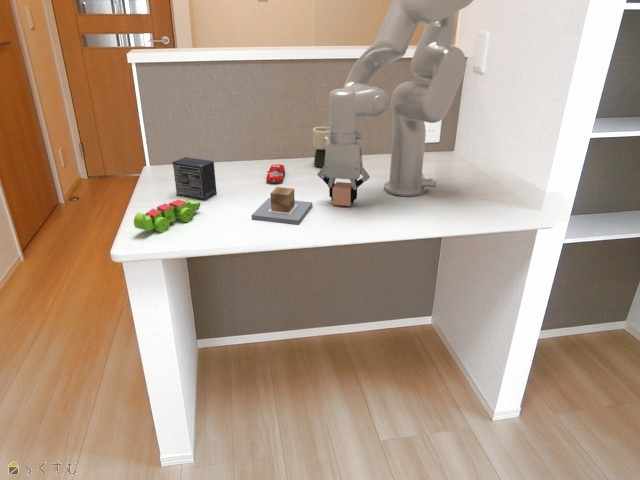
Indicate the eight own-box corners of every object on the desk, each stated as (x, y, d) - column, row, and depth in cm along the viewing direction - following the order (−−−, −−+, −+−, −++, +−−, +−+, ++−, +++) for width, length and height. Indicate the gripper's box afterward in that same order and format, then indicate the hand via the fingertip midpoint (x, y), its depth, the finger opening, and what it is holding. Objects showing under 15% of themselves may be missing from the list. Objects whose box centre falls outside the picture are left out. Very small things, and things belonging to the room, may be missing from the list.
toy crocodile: (190, 209, 138) (188, 188, 136) (207, 215, 135) (204, 193, 132) (128, 233, 124) (124, 211, 121) (145, 240, 120) (141, 217, 118)
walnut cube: (294, 205, 137) (294, 188, 135) (288, 212, 132) (288, 195, 130) (277, 204, 138) (276, 187, 136) (271, 210, 134) (270, 193, 131)
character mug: (337, 170, 169) (337, 132, 163) (316, 171, 168) (316, 133, 162) (329, 160, 179) (329, 124, 173) (309, 162, 177) (309, 125, 171)
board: (312, 206, 140) (312, 201, 139) (298, 224, 129) (298, 220, 128) (268, 201, 143) (268, 197, 142) (251, 219, 132) (251, 214, 131)
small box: (218, 194, 148) (215, 160, 144) (205, 201, 143) (201, 166, 139) (189, 189, 152) (185, 155, 148) (175, 195, 147) (171, 161, 143)
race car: (282, 186, 156) (281, 174, 154) (265, 185, 156) (264, 173, 154) (287, 172, 168) (286, 161, 166) (271, 172, 168) (270, 160, 166)
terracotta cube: (353, 199, 143) (353, 183, 141) (350, 206, 139) (350, 189, 136) (336, 198, 144) (336, 181, 142) (332, 204, 140) (332, 187, 137)
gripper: (377, 135, 134) (375, 197, 142) (316, 132, 138) (317, 193, 146) (372, 142, 128) (370, 208, 136) (308, 139, 132) (310, 202, 140)
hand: (343, 199), depth 141 cm, fingers closed on terracotta cube, 4 cm apart
